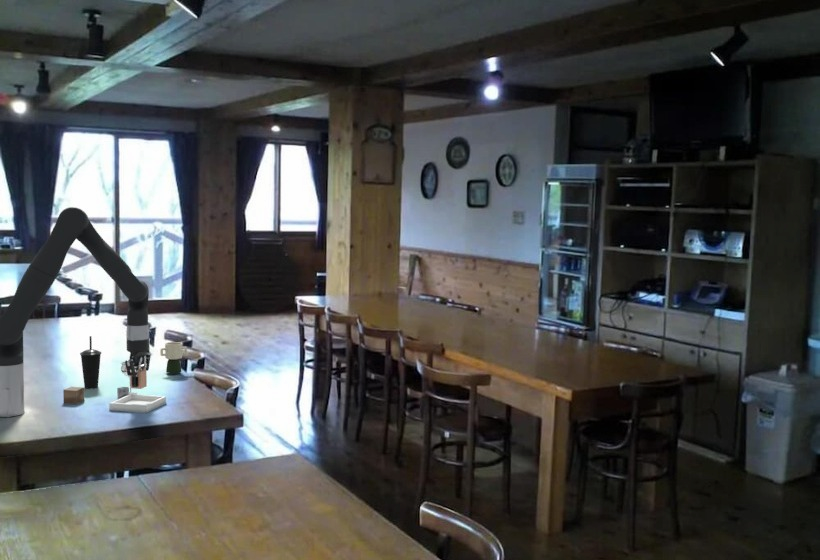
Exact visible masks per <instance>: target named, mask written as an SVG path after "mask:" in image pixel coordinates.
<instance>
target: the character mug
mask: <svg viewBox="0 0 820 560" xmlns="http://www.w3.org/2000/svg"><path fill="white" fill-rule="evenodd" d="M183 350H184V351H183ZM159 351H160V356H161V357H165V359H167V361H166V369H165V370H166V371H165V372H166V373H167V374H170V373H171V374H170V375H172V374H173V375H175V374H176V375H177V374H180V373H181V372H182V365H181V360H180V359H182V358H183V356H184V355H187V354H188V347H187V346H183V342H179V341H170V342H166V343H164V347H161V348H160V350H159Z"/></svg>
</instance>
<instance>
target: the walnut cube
mask: <svg viewBox="0 0 820 560" xmlns="http://www.w3.org/2000/svg"><path fill="white" fill-rule="evenodd" d="M62 393H63V404H69V405H78V404H81V403H83V402H85V387H84V386H70V387H67V388H65V389H63V391H62Z"/></svg>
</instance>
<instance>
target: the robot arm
mask: <svg viewBox="0 0 820 560" xmlns="http://www.w3.org/2000/svg"><path fill="white" fill-rule="evenodd" d="M76 240H77V241H78V242H80V243H81V244H82V246H84V247H85V248H86V250H87V251H88V252H89V253H90V254H91V255H92V257H93V258H94V259H95V261H96V262H97V263H98V265H99V266H100V268H101V269H103V270H104V271H105V273H106V274H107V275H108V276H109V277H110V278H111V279H112V280H113V281H114V282H115V284H116V285H117V287H118V288H119V289H120V291H121V292H122V294H123V295H125V297H126V298H127V299H128V309H127V310H126V311H127V312H126V331H125V332H126V334H125V336H126V351H127V352H129V359H127V360H124V362H125V365H126V370H127V374H128V376H131V377H132V387H138V374H139V370H140V369H141V370H146V372H148V371H149V368H150V362H151V358H152V357H151V354H150V353H147V352H146V351H148V350H149V347H150V327H149V328H148V325H149V311H148V307H149V298H150V297H149V293H150V291H149V286H148V284H147V283H146V282H145V281H143V280H141V279H139V278H138V277H137V276H136V275H135V274H134V273H133V272H132V269H131V267H130V266H129V264H128V263H127V262H126V261H125V260H124V259H123V258H122V257H121V256H120V255H119V254H118V253H117V251H115V249H114V248H112V247H111V246H110V245H109V244H108V243H107V242H106V240H105V239H103V237H102V236H101V235H100V233H98V231H97V230H96V228H95V226H94V225H93V224H92V222H91V220H90V219H89V217H88V214H87V212H85V211H84V210H83V209H81V208H80V207H76V206H70V207H67V208H65V209H63V210H62V211H61V212H60V213H59V215H58V218H57V220H56V221H55V224H54V227H53V228H52V231H51V232H50V234H49V236H48V238H47V240H46V241H45V243H44V244H43V245H42V246H41V247H40V249H39V251H38V252H37V253H36V254H35V256H34V258H33V259H32V260H31V262H30V264H29V265H28V267H27V268H26V270H25V272H24V274H23V275H22V277H21V280H20V281H19V283H18V285H17V287H16V290H15V293H14V295H13V297H12V300H11V301H10V303H9V304H8V306H7V307H6V309H5V311H4V312H3V313H2V314H1V315H0V418H10V417H11V418H12V417H15V416H17V417H18V416H19V415H23V414H25V377H24V376H25V375H24V373H25V371H24V370H25V369H24V367H25V366H24V363H25V362H24V330H25V328H26V326H27V324H28V321H29V320H30V317H31V316H32V314H33V312H34V311H35V309H36V308H37V307H38V305H39V304H40V303H41V301H42V300H43V299H44V297H45V296H46V294H47V293H48V292H49V291H50V289H51V287H52V286H53V284H54V282H55V281H56V279H57V278H58V275H59V274H60V271H61V269H62V267H63V265H64V262H65V259H66V257H67V254H68V252H69V250H70V248H71V247H72V245H73V244H74V242H75V241H76ZM149 351H150V350H149ZM134 367H137V368H134ZM130 370H131V372H130ZM135 370H136V373H135ZM128 376H127V377H128Z"/></svg>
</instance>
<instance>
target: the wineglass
mask: <svg viewBox="0 0 820 560" xmlns="http://www.w3.org/2000/svg"><path fill="white" fill-rule="evenodd" d="M120 364H121V367H120V372H121V373H122V374H123V375H124V376H127V378H128V379H129V381H130V376H128V374H127V370H126V365H125V361H122V362H120ZM134 368H137V367H134ZM130 371H131V370H130ZM129 394H138V393H137V392H133V391H132V388H130V387H129Z"/></svg>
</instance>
